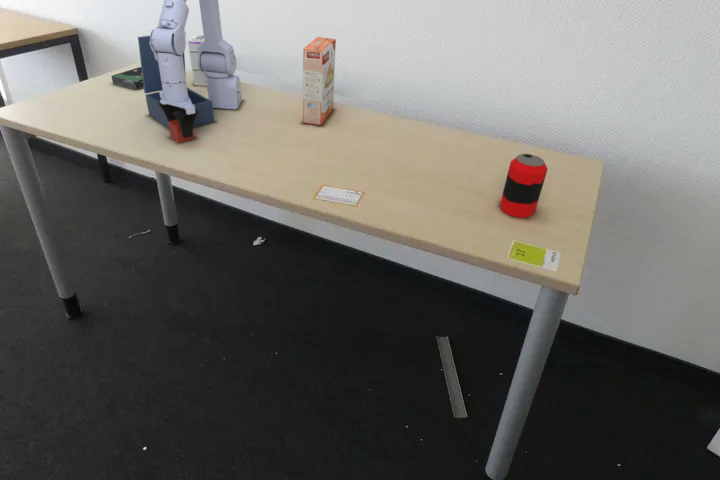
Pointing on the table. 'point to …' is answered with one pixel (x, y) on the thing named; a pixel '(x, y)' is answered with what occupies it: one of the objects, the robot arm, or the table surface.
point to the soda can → (523, 185)
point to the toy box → (197, 100)
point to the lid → (150, 66)
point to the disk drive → (129, 78)
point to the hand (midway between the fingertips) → (181, 132)
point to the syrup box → (193, 50)
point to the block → (177, 132)
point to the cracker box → (318, 80)
